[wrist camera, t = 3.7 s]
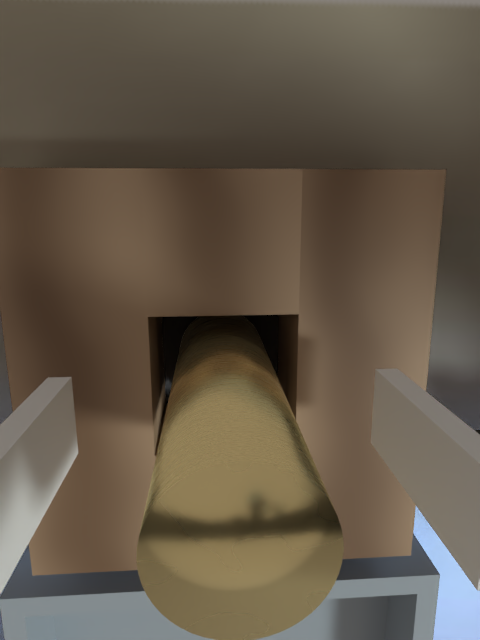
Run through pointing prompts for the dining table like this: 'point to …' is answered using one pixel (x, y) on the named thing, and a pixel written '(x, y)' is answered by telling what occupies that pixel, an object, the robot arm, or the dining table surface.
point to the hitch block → (215, 300)
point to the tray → (164, 636)
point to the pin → (234, 496)
